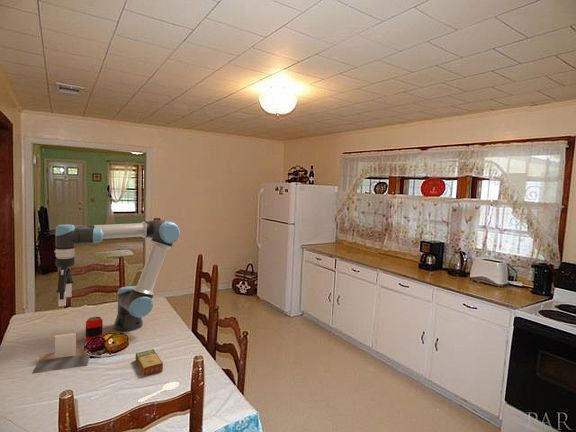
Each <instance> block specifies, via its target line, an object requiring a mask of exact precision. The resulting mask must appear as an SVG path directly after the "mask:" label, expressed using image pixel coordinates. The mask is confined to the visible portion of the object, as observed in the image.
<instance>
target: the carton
mask: <svg viewBox="0 0 576 432" xmlns="http://www.w3.org/2000/svg"><path fill="white" fill-rule="evenodd" d="M136 362H137V363H136ZM135 363H136V364H137V366H138V367H139V370H140V372H141V374H142V375H143V377H146V376H150V375H153V374H158V373H160V372H161V373H162V372H163V371H164V370H163V369H164V362H163V361H162V359H161V358H160V357H159V354H157V352H156V350H155V349H149V350H144V351H139V352H136V353H135Z"/></svg>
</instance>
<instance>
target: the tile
mask: <svg viewBox="0 0 576 432" xmlns="http://www.w3.org/2000/svg"><path fill="white" fill-rule="evenodd" d="M76 350H77V332H72V333H63V334H56V335H55V336H54V353H55V358H60V357H68V356H75V355H76Z"/></svg>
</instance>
